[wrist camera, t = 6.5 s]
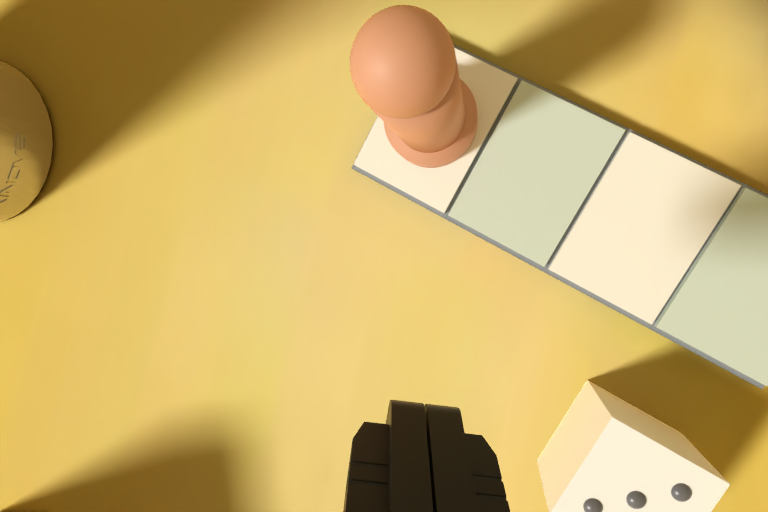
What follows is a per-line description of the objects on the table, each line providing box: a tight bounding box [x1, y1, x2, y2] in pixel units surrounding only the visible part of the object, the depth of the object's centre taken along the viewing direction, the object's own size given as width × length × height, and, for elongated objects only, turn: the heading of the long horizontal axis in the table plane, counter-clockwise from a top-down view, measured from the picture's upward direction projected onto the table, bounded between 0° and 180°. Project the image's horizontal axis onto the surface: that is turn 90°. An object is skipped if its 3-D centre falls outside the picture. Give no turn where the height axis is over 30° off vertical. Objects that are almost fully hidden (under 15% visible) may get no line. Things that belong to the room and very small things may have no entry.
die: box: [537, 380, 730, 512], centre depth 20 cm, size 4×4×5 cm
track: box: [352, 44, 768, 389], centre depth 21 cm, size 20×7×1 cm, turn 62°
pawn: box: [350, 5, 478, 168], centre depth 17 cm, size 4×4×10 cm
